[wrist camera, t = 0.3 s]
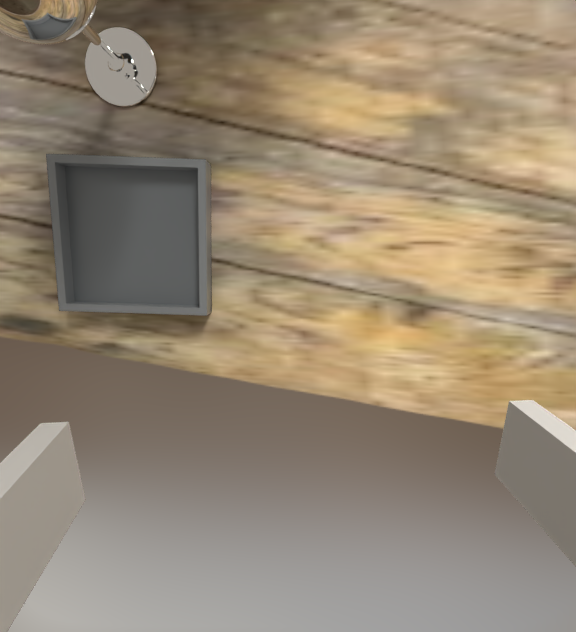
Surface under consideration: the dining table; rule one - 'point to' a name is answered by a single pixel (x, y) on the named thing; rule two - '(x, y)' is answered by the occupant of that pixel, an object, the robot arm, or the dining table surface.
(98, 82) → the wineglass
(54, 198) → the tray
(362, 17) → the dining table surface
